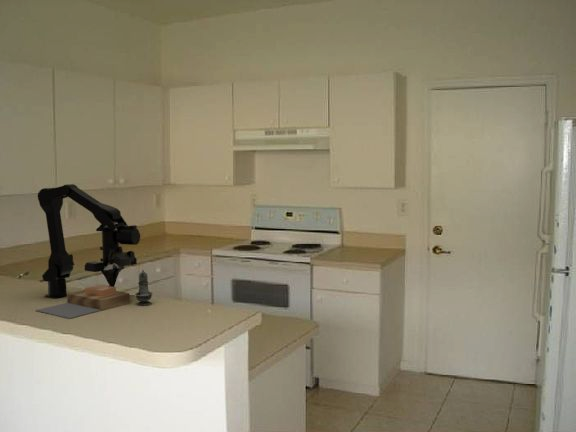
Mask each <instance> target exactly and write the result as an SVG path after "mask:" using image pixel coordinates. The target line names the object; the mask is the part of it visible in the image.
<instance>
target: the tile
mask: <svg viewBox="0 0 576 432" xmlns="http://www.w3.org/2000/svg"><path fill="white" fill-rule="evenodd" d="M84 290H85V293H88V294H93V295H98V296H105V295H109V294H113V293H116V291H117V287H116V286H114V287H112V286H109V285H106V284H99V283H97V284H93V285H89V286H86V287H84Z"/></svg>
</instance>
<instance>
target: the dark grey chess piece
mask: <svg viewBox="0 0 576 432" xmlns="http://www.w3.org/2000/svg"><path fill="white" fill-rule="evenodd" d="M148 280H149V279H148V273H147V272H146V271H144V269H142V271H141V272H140V273H139V274H138V281H139V282H137V284H138V288H139V289H138V292H136V293H135V294H134V296H135V297H136V300H137V301H138V302H137V303H136V304H135V305H136V306H139V307H145V306H146V307H147V306H150V305H152V304H153V303H152V302H151V301H150V300H152V296H153V292H150V290H149V281H148Z"/></svg>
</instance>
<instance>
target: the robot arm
mask: <svg viewBox="0 0 576 432" xmlns="http://www.w3.org/2000/svg"><path fill="white" fill-rule="evenodd" d="M67 198H69V199H71V200H72V201H73V202H75V203H77V204H78V205H80V206H81V207H83V208H84V209H85V210H87V211H89V212H90V213H91V214H92V215H93V217H94V219H96V221H97V222H99V226H98V227H97V228H96V229H95V231H96V232H101V243H102V244H101V246H100V247H99V250H101V251H102V258H101V257H100V261H98V260H97V261H96V260H93V261H88V262H86V263H85V264H84V271H85V272H92V273H98V272H101V273H102V274H103V276H104V278H105V280H106V282H107V283H108V286H112V287H116V282H117V279H118V277H119V273H120V272H121V271H122V270H124V269H126V268H125V267H130V266H133V265H137V264H138V262H137V257H136V256H135V251H133V250H129V251H123V247H122V246H121V245H127V246H130V245H131V246H136V245H138V244H139V243H140V241H141V233H140V231H139V229H138V227H137V225H136V224H132V225H128V224H127V222H126V221H125V219H124V218H123V216H122V215H121V214H122V213H121V211H120V210H119V208H116V207H115V206H112V205H109V204H106V203H102V202H100V201H99V200H97V199H95V198H94V197H92V196H91V195H89V193H87V192H85V191H84V190H83V189H81V188H79V187H78V185H76V184H74V183H72V184H71V183H69V184H64V185H60V186H57V187H46V188H41V189H40V190H39V191H38V193H37V201H38V204H39V206H40V208H41V210H42V211H43V212H44V214H45V218H46V224H47V225H46V226H47V233H48V240H49V246H50V254H49V255H50V256H49V257H48V261H47V262H48V265H47V266H48V267H47V269H46V270H45V272H44V273H43V274H41V275H42V276H41V277H42V280H43V282H47V289H48V291H47V293H48V294H44V297H48V298H51V299H58V298H63V297H67V293H68V292H67V278H70V275H71V273H72V271H73V270H74V266H75V263H74V256H73V254H72V253H70V254H69V253H68V251H67V250H66V249H67V248H66V243H65V235H64V229H63V223H62V216H61V211H62V207H63V205H64V202H63V201H64V199H67Z"/></svg>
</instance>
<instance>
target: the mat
mask: <svg viewBox="0 0 576 432" xmlns="http://www.w3.org/2000/svg"><path fill="white" fill-rule="evenodd" d="M35 312H38V313H43V314H46V315H51V316H55V317H59V318H64V319H68V320H71V319H75V318H79V317H83V316H86V315H90V314H94V313H99V312H102V311H101V310H100V309H95V308H90V307H86V306H81V305H76V304H71V303H67V302H65V303H59V304H56V305H51V306H47V307H44V308H43V307H42V308H39V309H36V310H35Z"/></svg>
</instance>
